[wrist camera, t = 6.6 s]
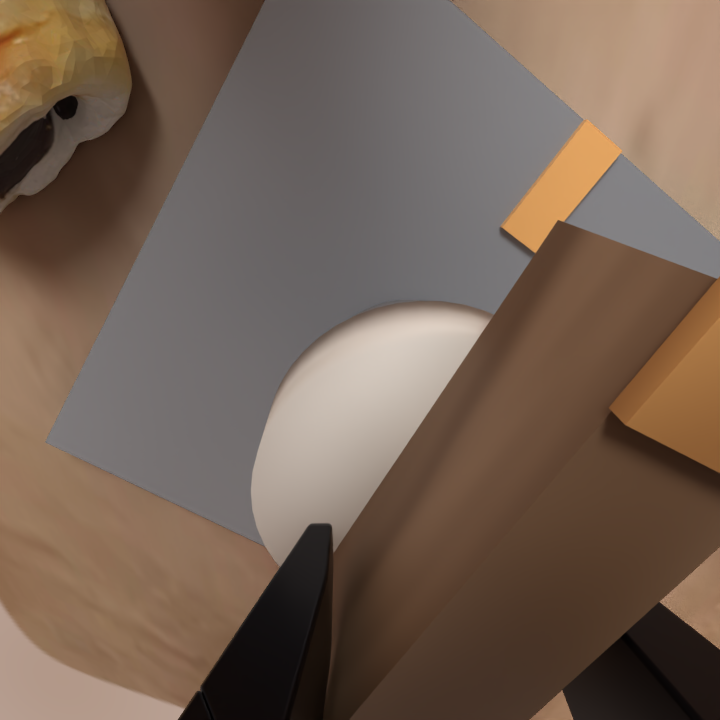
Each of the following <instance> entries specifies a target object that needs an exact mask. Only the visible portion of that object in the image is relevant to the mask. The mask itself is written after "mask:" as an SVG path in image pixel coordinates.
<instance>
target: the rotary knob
mask: <svg viewBox="0 0 720 720" xmlns="http://www.w3.org/2000/svg"><path fill="white" fill-rule="evenodd" d="M251 500H252V511H253V514H254V518H255V522H256V526H257V529H258V532H259V534H260V536H261V538H262V541H263V543H264V545H265V547H266V548H267V550H268V551H269V553H270V555H271V556H272V558H273V559H274V561H275V562H276V563H277V564H278V565H279V567H281V565H282V564H283V562H284V561H285V559H286V558H287V556H288V555H289V553H290V552H291V550H292V549H293V547H294V546H295V544H296V543H297V541H298V540H299V538H300V537H301V535H302V534H303V532H304V531H305V529H306V528H307V526H308V525H309V524H311V523H330V524H331V525H332V529H333V607H332V644H331V660H330V669H329V677H328V684H327V691H326V699H325V706H324V713H323V720H529V719H531V718H532V717H533V716H534V715H535V714H536V713H537V712H538V711H539V710H540V709H542V708H543V707H544V706H545V705H546V704H547V703H548V702H549V701H550V700H551V699H553V698H554V697H555V696H556V695H557V694H558V693H559V692H560V691H561V690H562V689H564V688H565V687H566V686H567V685H568V684H569V683H570V682H571V681H572V680H574V679H575V678H576V677H577V676H578V675H579V674H580V673H581V672H582V671H583V670H585V669H586V668H587V667H588V666H589V665H590V664H591V663H592V662H593V661H594V660H596V659H597V658H598V657H599V656H600V655H601V654H602V653H603V652H604V651H606V650H607V649H608V648H609V647H610V646H611V645H612V644H613V643H614V642H615V641H617V640H618V639H619V638H620V637H621V636H622V635H623V634H624V633H625V632H626V631H628V630H629V629H630V628H631V627H632V626H633V625H634V624H635V623H636V622H637V621H639V620H640V619H641V618H642V617H643V616H644V615H645V614H646V613H647V612H649V611H650V610H651V609H652V608H653V607H654V606H655V605H656V604H657V603H658V602H660V601H661V600H662V599H663V598H664V597H665V596H666V595H667V594H668V593H669V592H671V591H672V590H673V589H674V588H675V587H676V586H677V585H678V584H679V583H680V582H682V581H683V580H684V579H685V578H686V577H687V576H688V575H689V574H690V573H692V572H693V571H694V570H695V569H696V568H697V567H698V566H699V565H700V564H701V563H703V562H704V561H705V560H706V559H707V558H708V557H709V556H710V555H711V554H712V553H714V552H715V551H716V550H717V549H718V548H719V547H720V277H719V278H718V279H717V278H714V277H711V276H708V275H706V274H703V273H700V272H698V271H695V270H692V269H690V268H687V267H684V266H681V265H679V264H676V263H673V262H671V261H668V260H665V259H663V258H660V257H657V256H654V255H652V254H649V253H646V252H644V251H641V250H638V249H636V248H633V247H630V246H627V245H625V244H622V243H619V242H617V241H614V240H611V239H609V238H606V237H603V236H600V235H598V234H595V233H592V232H590V231H587V230H584V229H582V228H579V227H576V226H573V225H571V224H568V223H565V222H563V221H560V220H558V221H557V222H556V224H555V225H554V227H553V228H552V230H551V231H550V232H549V234H548V235H547V237H546V238H545V240H544V241H543V243H542V244H541V246H540V247H539V249H538V250H537V252H536V253H535V255H534V256H533V258H532V259H531V261H530V262H529V264H528V265H527V267H526V268H525V270H524V271H523V273H522V274H521V276H520V277H519V279H518V280H517V281H516V283H515V284H514V286H513V287H512V289H511V290H510V292H509V293H508V295H507V296H506V298H505V299H504V301H503V302H502V304H501V305H500V307H499V308H498V310H497V311H496V313H495V314H494V315H493V314H491V313H489V312H487V311H484V310H481V309H477V308H474V307H471V306H467V305H464V304H457V303H450V302H444V301H413V302H403V303H396V304H391V305H387V306H383V307H378V308H375V309H372V310H369V311H366V312H364V313H361V314H358V315H356V316H353V317H351V318H350V319H348V320H346V321H344V322H342V323H340V324H338V325H336V326H334V327H333V328H332V329H330V330H329V331H327V332H326V333H324V334H323V335H322V336H320V337H319V338H317V339H316V340H315V341H314V342H313V343H312V344H311V345H310V346H309V347H308V348H307V349H305V350H304V351H303V352H302V354H301V355H300V356H299V357H298V358H297V360H296V361H295V362H294V363H293V364H292V366H291V367H290V368H289V370H288V372H287V373H286V375H285V377H284V378H283V380H282V382H281V383H280V386H279V388H278V390H277V393H276V395H275V397H274V400H273V403H272V406H271V409H270V413H269V416H268V419H267V422H266V426H265V429H264V432H263V436H262V439H261V442H260V445H259V449H258V452H257V456H256V460H255V464H254V468H253V472H252V483H251Z"/></svg>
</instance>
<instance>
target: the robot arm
mask: <svg viewBox="0 0 720 720" xmlns="http://www.w3.org/2000/svg"><path fill="white" fill-rule="evenodd" d="M332 607H333V529H332V525H331V524H330V523H311V524H309V525H308V526H307V528H306V529H305V531H304V532H303V534H302V535H301V537H300V538H299V540H298V541H297V543H296V544H295V546H294V547H293V549H292V550H291V552H290V553H289V555H288V556H287V558H286V559H285V561H284V562H283V564H282V565H281V567H280V568H279V570H278V571H277V573H276V574H275V576H274V577H273V579H272V580H271V582H270V583H269V585H268V586H267V588H266V589H265V591H264V592H263V594H262V595H261V597H260V598H259V600H258V601H257V602H256V604H255V605H254V607H253V608H252V610H251V611H250V613H249V614H248V616H247V617H246V619H245V620H244V622H243V623H242V625H241V626H240V628H239V629H238V631H237V632H236V634H235V635H234V637H233V638H232V640H231V641H230V643H229V644H228V646H227V647H226V649H225V650H224V652H223V653H222V655H221V656H220V658H219V659H218V661H217V662H216V664H215V665H214V667H213V668H212V670H211V671H210V673H209V674H208V676H207V677H206V679H205V680H204V682H203V683H202V685H201V687H200V690H201V691H197V692H196V693H195V695H194V696H193V698H192V699H191V701H190V702H189V704H188V705H187V707H186V708H185V710H184V711H183V713H182V714H181V716H180V717H179V719H178V720H323V713H324V706H325V699H326V691H327V684H328V677H329V669H330V660H331V644H332ZM562 690H563V693H564V695H565V698H566V701H567V703H568V706H569V709H570V711H571V714H572V717H573V719H574V720H720V649H718V648H717V647H716V646H715V645H713V644H712V643H711V642H710V641H708V640H707V639H706V638H704V637H703V636H702V635H701V634H699V633H698V632H697V631H696V630H694V629H693V628H692V627H691V626H689V625H688V624H687V623H685V622H684V621H683V620H682V619H680V618H679V617H678V616H677V615H675V614H674V613H673V612H671V611H670V610H669V609H668V608H666V607H665V606H664V605H663V604H661V603H660V602H658V603H657V604H656V605H655V606H654V607H653V608H652V609H651V610H650V611H649V612H647V613H646V614H645V615H644V616H643V617H642V618H641V619H640V620H639V621H637V622H636V623H635V624H634V625H633V626H632V627H631V628H630V629H629V630H628V631H626V632H625V633H624V634H623V635H622V636H621V637H620V638H619V639H618V640H617V641H615V642H614V643H613V644H612V645H611V646H610V647H609V648H608V649H607V650H606V651H604V652H603V653H602V654H601V655H600V656H599V657H598V658H597V659H596V660H594V661H593V662H592V663H591V664H590V665H589V666H588V667H587V668H586V669H585V670H583V671H582V672H581V673H580V674H579V675H578V676H577V677H576V678H575V679H574V680H572V681H571V682H570V683H569V684H568V685H567V686H566V687H565V688H564V689H562Z"/></svg>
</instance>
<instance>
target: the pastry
mask: <svg viewBox="0 0 720 720" xmlns="http://www.w3.org/2000/svg"><path fill="white" fill-rule="evenodd" d="M131 88H132V79H131V73H130V67H129V63H128V59H127V56H126V52H125V49H124V45H123V42H122V40H121V37H120V35H119V32H118V30H117V28H116V26H115V23H114V21H113V19H112V17H111V15H110V12H109V10H108V7H107V5H106V2H105V0H0V213H1V212H2V211H3V210H4V209H5V208H6V206H7V205H8V204H10V203H11V202H13V201H15V200H16V198H17V197H18V196H19V195H22V194H23V195H28V196H29V195H33V194H36V193H38V192H39V191H41V190H42V189H44V188H45V187H46V186H47V185H48V184H49V183H51V182H52V181H53V180H54V179H56V177H57V175H58V173H59V171H60V170H61V168H62V167H63V166H64V165H65V164H66V163H67V162H68V161H69V160H70V158H71V156H72V155H73V153H74V151H75V149H76V147H77V145H78V144H79V143H80V142H83V141H86V140H93V139H95V138H97V137H100V136H102V135H103V134H105V133H106V132H108V131H109V130H110V128H111V127H112V126H113V125H114V124H115V122H116V121H117V120H118V119H119V118H120V117H121V116H123V115H124V113H125V112H126V108H127V104H128V100H129V96H130V92H131Z"/></svg>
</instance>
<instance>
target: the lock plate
mask: <svg viewBox="0 0 720 720" xmlns="http://www.w3.org/2000/svg"><path fill="white" fill-rule="evenodd" d="M621 152H622V150H621V149H620V148H619V147H617V146H616V145H615V144H614V143H613V142H612V141H611V140H610V139H608V138H607V137H606V136H605V135H604V134H603V133H602V132H601V131H600V130H598V129H597V128H596V127H595V126H594V125H593V124H592V123H591V122H589V121H588V120H583V119H582V118H581V117H580V116H579V115H577V114H576V113H575V112H574V111H573V110H572V109H571V108H570V107H569V106H567V105H566V104H565V103H564V102H563V101H562V100H561V99H560V98H558V97H557V96H556V95H555V94H554V93H553V92H552V91H551V90H549V89H548V88H547V87H546V86H545V85H544V84H543V83H542V82H541V81H539V80H538V79H537V78H536V77H535V76H534V75H533V74H532V73H530V72H529V71H528V70H527V69H526V68H525V67H524V66H523V65H521V64H520V63H519V62H518V61H517V60H516V59H515V58H514V57H513V56H511V55H510V54H509V53H508V52H507V51H506V50H505V49H504V48H502V47H501V46H500V45H499V44H498V43H497V42H496V41H495V40H494V39H492V38H491V37H490V36H489V35H488V34H487V33H486V32H485V31H483V30H482V29H481V28H480V27H479V26H478V25H477V24H476V23H474V22H473V21H472V20H471V19H470V18H469V17H468V16H467V15H466V14H464V13H463V12H462V11H461V10H460V9H459V8H458V7H457V6H455V5H454V4H453V3H452V2H451V1H450V0H265V1H264V3H263V5H262V7H261V9H260V11H259V13H258V15H257V17H256V19H255V21H254V23H253V25H252V27H251V30H250V32H249V34H248V36H247V38H246V40H245V42H244V44H243V46H242V48H241V50H240V52H239V54H238V56H237V58H236V60H235V62H234V64H233V66H232V68H231V70H230V72H229V74H228V76H227V78H226V80H225V82H224V84H223V86H222V88H221V90H220V92H219V94H218V96H217V98H216V100H215V102H214V104H213V106H212V108H211V110H210V112H209V114H208V116H207V118H206V120H205V122H204V124H203V126H202V128H201V130H200V132H199V134H198V136H197V138H196V140H195V142H194V144H193V146H192V148H191V150H190V152H189V154H188V156H187V158H186V160H185V162H184V164H183V166H182V168H181V170H180V172H179V174H178V176H177V178H176V180H175V182H174V184H173V186H172V188H171V190H170V192H169V194H168V196H167V198H166V200H165V202H164V204H163V206H162V208H161V210H160V212H159V214H158V216H157V218H156V220H155V222H154V224H153V226H152V228H151V230H150V232H149V234H148V237H147V239H146V241H145V243H144V245H143V247H142V249H141V251H140V253H139V255H138V257H137V259H136V261H135V263H134V265H133V267H132V269H131V271H130V273H129V275H128V277H127V279H126V281H125V283H124V285H123V287H122V289H121V291H120V293H119V295H118V297H117V299H116V301H115V303H114V305H113V307H112V309H111V311H110V313H109V315H108V317H107V319H106V321H105V323H104V325H103V327H102V329H101V331H100V333H99V335H98V337H97V339H96V341H95V343H94V345H93V347H92V349H91V351H90V353H89V355H88V357H87V359H86V361H85V363H84V365H83V367H82V369H81V371H80V373H79V375H78V377H77V379H76V381H75V383H74V385H73V387H72V389H71V391H70V393H69V395H68V397H67V399H66V401H65V403H64V405H63V407H62V409H61V411H60V413H59V415H58V417H57V419H56V421H55V423H54V425H53V427H52V429H51V431H50V433H49V435H48V437H47V439H46V441H45V442H46V443H48V444H50V445H52V446H54V447H56V448H58V449H60V450H62V451H65V452H67V453H69V454H71V455H73V456H75V457H77V458H79V459H81V460H84V461H86V462H88V463H90V464H92V465H94V466H96V467H98V468H100V469H103V470H105V471H107V472H109V473H111V474H113V475H115V476H117V477H119V478H121V479H124V480H126V481H128V482H130V483H132V484H134V485H136V486H138V487H140V488H143V489H145V490H147V491H149V492H151V493H153V494H155V495H157V496H159V497H162V498H164V499H166V500H168V501H170V502H172V503H174V504H176V505H178V506H180V507H183V508H185V509H187V510H189V511H191V512H193V513H195V514H197V515H199V516H202V517H204V518H206V519H208V520H210V521H212V522H214V523H216V524H218V525H220V526H223V527H225V528H227V529H229V530H231V531H233V532H235V533H237V534H239V535H242V536H244V537H246V538H248V539H250V540H252V541H254V542H256V543H258V544H261V545H263V546H265V545H264V543H263V541H262V538H261V536H260V534H259V532H258V529H257V526H256V522H255V518H254V514H253V511H252V500H251V483H252V472H253V468H254V464H255V460H256V456H257V452H258V449H259V445H260V442H261V439H262V436H263V432H264V429H265V426H266V422H267V419H268V416H269V413H270V409H271V406H272V403H273V400H274V397H275V395H276V393H277V390H278V388H279V386H280V383H281V382H282V380H283V378H284V377H285V375H286V373H287V372H288V370H289V368H290V367H291V366H292V364H293V363H294V362H295V361H296V360H297V358H298V357H299V356H300V355H301V354H302V352H303V351H304V350H305V349H307V348H308V347H309V346H310V345H311V344H312V343H313V342H314V341H315V340H316V339H317V338H319V337H320V336H322V335H323V334H324V333H326V332H327V331H329V330H330V329H332V328H333V327H334V326H336V325H338V324H340V323H342V322H344V321H346V320H348V319H350V318H351V317H353V316H356V315H358V314H361V313H364V312H366V311H369V310H372V309H375V308H378V307H383V306H387V305H391V304H396V303H403V302H413V301H444V302H450V303H457V304H464V305H467V306H471V307H474V308H477V309H481V310H484V311H487V312H489V313H491V314H493V315H494V314H495V313H496V311H497V310H498V308H499V307H500V305H501V304H502V302H503V301H504V299H505V298H506V296H507V295H508V293H509V292H510V290H511V289H512V287H513V286H514V284H515V283H516V281H517V280H518V279H519V277H520V276H521V274H522V273H523V271H524V270H525V268H526V267H527V265H528V264H529V262H530V261H531V259H532V258H533V256H534V255H535V253H536V252H537V250H538V249H539V247H540V246H541V244H542V243H543V241H544V240H545V238H546V237H547V235H548V234H549V232H550V231H551V230H552V228H553V227H554V225H555V224H556V222H557V221H558V220H560V221H563V222H565V223H568V224H571V225H573V226H576V227H579V228H582V229H584V230H587V231H590V232H592V233H595V234H598V235H600V236H603V237H606V238H609V239H611V240H614V241H617V242H619V243H622V244H625V245H627V246H630V247H633V248H636V249H638V250H641V251H644V252H646V253H649V254H652V255H654V256H657V257H660V258H663V259H665V260H668V261H671V262H673V263H676V264H679V265H681V266H684V267H687V268H690V269H692V270H695V271H698V272H700V273H703V274H706V275H708V276H711V277H714V278H717V279H718V278H719V277H720V241H719V240H717V239H716V238H715V237H714V236H713V235H712V234H711V233H710V232H708V231H707V230H706V229H705V228H704V227H703V226H702V225H701V224H700V223H698V222H697V221H696V220H695V219H694V218H693V217H692V216H691V215H689V214H688V213H687V212H686V211H685V210H684V209H683V208H682V207H680V206H679V205H678V204H677V203H676V202H675V201H674V200H673V199H672V198H670V197H669V196H668V195H667V194H666V193H665V192H664V191H663V190H661V189H660V188H659V187H658V186H657V185H656V184H655V183H654V182H652V181H651V180H650V179H649V178H648V177H647V176H646V175H645V174H644V173H642V172H641V171H640V170H639V169H638V168H637V167H636V166H635V165H633V164H632V163H631V162H630V161H629V160H628V159H627V158H626V157H624V156H623V155H622V154H621Z"/></svg>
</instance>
